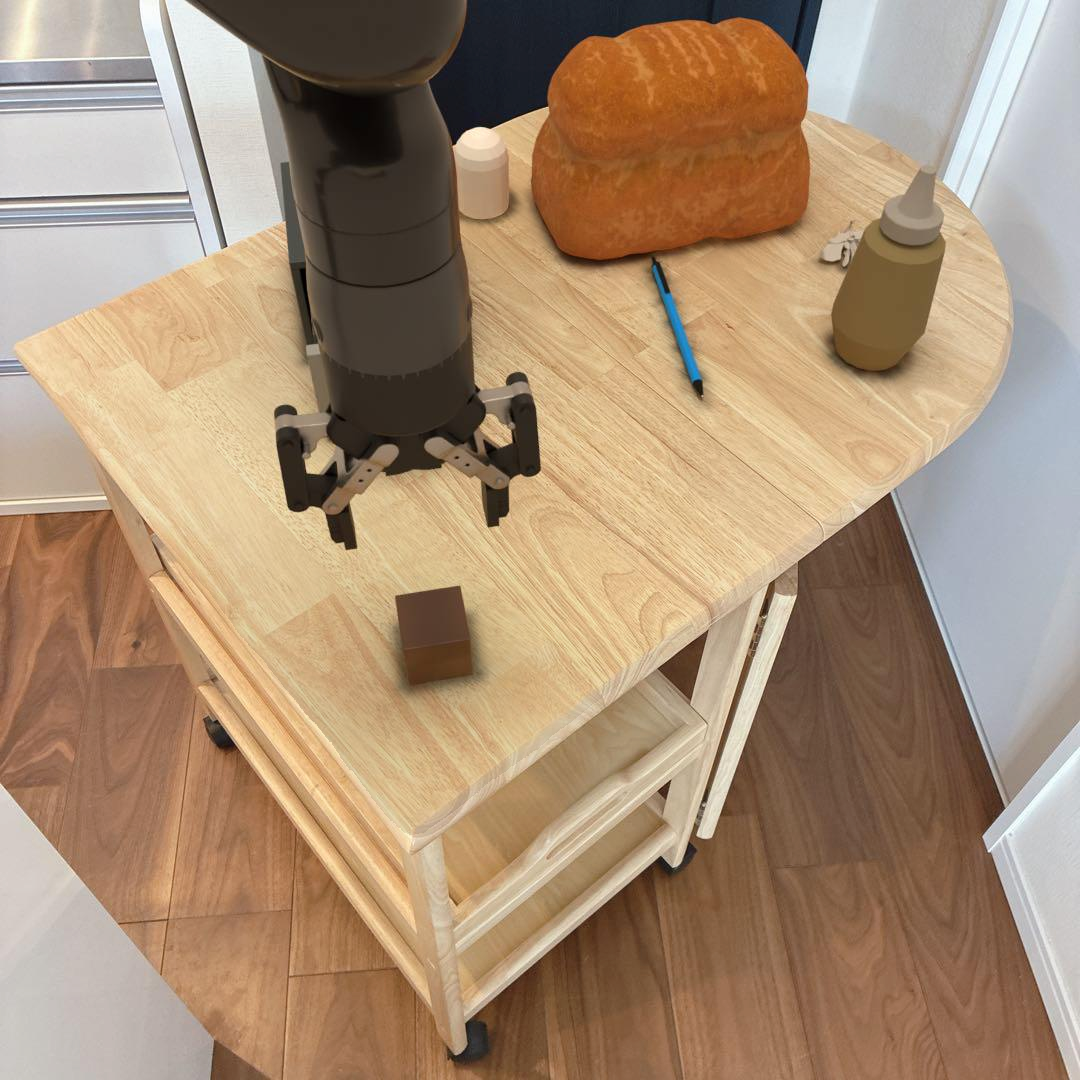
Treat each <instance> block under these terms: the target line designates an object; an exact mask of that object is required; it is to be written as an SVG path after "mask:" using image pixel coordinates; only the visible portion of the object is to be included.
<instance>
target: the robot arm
mask: <svg viewBox="0 0 1080 1080" xmlns="http://www.w3.org/2000/svg"><path fill="white" fill-rule="evenodd" d="M184 1H185V2H187V3H188V4H189V5H190V6H192V7H194V9H196V10H198V11H199V12H200V13H202V14H203V15H204V16H206V17H207V18H208V19H210V20H211V21H213V22H215V23H216V24H217V25H219V26H220V27H222V28H223V29H224V30H226V32H228V33H230V34H231V35H233V36H234V37H235V38H237V39H238V40H240V41H241V42H243V44H245V45H247V46H248V47H249V48H251V49H253V50H254V51H256V52H257V53H259V54H260V55H261V58H262V61H263V65H264V68H265V71H266V74H267V78H268V82H269V85H270V88H271V92H272V96H273V98H274V101H275V104H276V108H277V110H278V114H279V116H280V121H281V124H282V129H283V134H284V139H285V140H284V141H285V146H286V151H287V157H288V162H289V166H290V176H291V183H292V189H293V196H294V199H295V204H296V209H297V214H298V219H299V224H300V229H301V234H302V239H303V244H304V250H305V257H306V278H307V291H308V297H309V302H310V307H311V312H312V319H311V323H312V327H313V330H314V333H315V335H316V338H317V340H318V345H319V350H320V355H321V360H322V364H323V369H324V374H325V379H326V384H327V389H328V393H329V398H330V403H329V405H328V407H327V409H326V411H325V413H319V412H315V413H304V414H298V410H297V408H296V407H295V406H293V405H291V404H281V405H278V406H276V408H275V409H274V410H273V411H274V412H273V418H274V433H275V434H274V435H275V445H276V446H275V447H276V452H277V458H278V462H279V468H280V473H281V478H282V485H283V490H284V495H285V500H286V505H287V506H286V507H287V509H288V510H289V511H291V512H293V513H303V512H306V511H307V510H309V508H310V507H312V508H318V509H320V510H322V512H323V513H324V516H325V520H326V523H327V527H328V532H329V536H330V539H331V541H333V542H334V544H335V545H337V544H343V546H344V550H345V551H351V550H357V549H358V543H357V534H356V526H355V520H354V515H353V512H352V506H351V501H352V499H354V497H355V496H356V495H363V494H364V493H365V491H367V489H368V488H369V487H370V486H371V484H373V482H374V481H375V480H376V479H377V477H378V476H379V475H380V473H385V477H391V476H396V475H397V476H398V475H402V474H405V473H408V472H411V471H413V470H414V471H415V470H416V471H417V470H420V471H431V470H438V469H442V468H443V465H444V464H445V463H447V464H448V465H450V466H452V467H453V468H455V469H456V470H457V471H459V472H461V473H462V474H463V475H465V476H466V477H467V478H470V479H473V478H474V477H476V478H477V479H479V480H480V489H481V503H482V509H483V513H484V518H485V522H486V527H487V528H496V527H500V518H506V517H507V516H508V514H509V513H510V487H509V486H510V483H511V481H512V479H514V478H515V477H517V476H519V475H521V476H523V477H525V478H532V477H535V476H537V475H538V474H539V473H540V472H541V469H542V466H541V465H542V463H541V453H540V441H539V440H540V439H539V438H540V437H539V427H538V414H537V413H538V412H537V406H536V403H535V399H534V396H533V393H532V390H531V386H530V385H531V384H530V383H529V382H530V381H529V379H528V376H527V374H526V373H525V372H522V371H515V372H512V373H510V374H508V376H507V377H506V379H505V385H504V386H498V387H493V388H488V389H487V388H486V389H482V390H481V388H480V387H479V386H477V384H476V380H475V363H474V346H473V328H472V319H473V313H474V312H473V311H474V310H473V309H474V305H473V300H472V296H471V293H470V281H469V273H468V272H469V271H468V266H467V265H468V264H467V261H466V260H467V259H466V256H465V252H464V248H463V244H462V236H461V224H460V222H461V221H460V211H459V203H458V187H457V173H456V163H455V157H454V152H455V150H454V146H453V142H452V139H451V135H450V131H449V128H448V126H447V124H446V121H445V119H444V117H443V114H442V113H441V110H440V108H439V105H438V103H437V101H436V99H435V96H434V94H433V91H432V88H431V84H430V79H432V78H433V77H434V76H435V75H437V74H438V73H439V72H440V71H441V69H442V68H443V67H444V66H445V65H446V64H447V62H448V61H449V60H450V58H451V57H452V55H453V53H454V52H455V50H456V48H457V46H458V44H459V41H460V39H461V37H462V33H463V30H464V27H465V22H466V18H467V10H468V0H184ZM487 415H493V416H495V417H496V418H497V420H498V422H499V423H500V424H501V425H505V426H506V428H507V429H508V430H510V434H511V443H508V444H506V445H502V446H501V445H499V444H498V443H496V441H494V440H493V439H491V438H490V437H489V436H487V435H486V434H485V433H483V431H482V430H481V428H480V426H481V425H482V424H483V423H484V422H485V419H486V416H487ZM323 438H328V440H329V441H330V442H331V443H332V444H333V445H335V449H334V453H333V455H332V457H331V458H330V459H329V461H328V462H327V463H326V464H325V465H324V467H323V468H322V469H321V471H320V472H319V473H310V472H307V467H306V460H309V459H310V458H311V457H312V453H314V452H315V451H316V449H317V445H318V442H319V441H320V440H321V439H323Z"/></svg>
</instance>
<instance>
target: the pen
mask: <svg viewBox="0 0 1080 1080" xmlns="http://www.w3.org/2000/svg"><path fill="white" fill-rule="evenodd" d="M651 262H652V265H651V270H652V273H653V276H654V279H655V281H656V284H657V287H658V290H659V293H660V295H661V298H662V301H663V304H664V307H665V310H666V313H667V316H668V318H669V321H670V324H671V327H672V331H673V333H674V336H675V338H676V342H677V344H678V347H679V350H680V353H681V356H682V359H683V361H684V365H685V367H686V370H687V372H688V376H689V378H690V381H691V384H692V387H693V388H694V390H695V391H696V392H697V393H698V395H699V396H700V397H701V398H704V385H703V384H704V383H703V379H702V376H701V374H700V371H699V367H698V365H697V361H696V359H695V357H694V354H693V351H692V348H691V345H690V343H689V339H688V337H687V333H686V331H685V329H684V326H683V323H682V320H681V317H680V315H679V312H678V309H677V306H676V304H675V301H674V298H673V295H672V292H671V290H670V287H669V283H668V281H667V278H666V275H665V273H664V270H663V267H662V264H661V262H660V261H658V260H657V259H656V256H651Z"/></svg>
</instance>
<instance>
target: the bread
mask: <svg viewBox="0 0 1080 1080" xmlns="http://www.w3.org/2000/svg"><path fill="white" fill-rule="evenodd" d="M809 87H810V85H809V82H808V78H807V74H806V71H805V68H804V66H803V64H802V62H801V60H800V58H799V57H798V55H797V54H796V53H795V51H794V50H793V49H792V48H791V47H790V46H789V45H788V43H787V42H786V41H785V39H783V37H781V36H780V35H779V34H778V33H777V32H776V31H774V30H773V29H772V28H771V27H770V26H769V25H766V24H765V23H763V22H762V21H759V20H755V19H750V18H746V17H745V18H744V17H739V16H738V17H734V18H729V19H725V20H722V21H719V22H718V23H715V24H713V23H710V22H708V21H704V20H695V19H683V20H676V21H675V20H674V21H666V22H660V23H653V24H644V25H640V26H638V27H634V28H632V29H629V30H627V31H625V32H623V33H621V34H620V35H619V34H618V36H615V37H609V36H608V37H607V36H600V35H599V36H598V35H593V36H588V37H586V38H585V39H583V40H581V41H580V42H579V43H577V44H576V45H575V46H574V47H573V48H572V49H571V50H570V51H569V52H568V54H567V55H566V56H565V57H564V58H563V60H562V62H561V63H560V64H559V65H558V66H557V68H556V70H555V71H554V73H553V74H552V75H551V80H550V82H549V85H548V88H547V89H548V90H547V105H548V112H549V113H548V115H547V117H546V118H545V120H544V122H543V123H542V125H541V127H540V128H539V131H538V134H537V136H536V138H535V140H534V145H533V149H532V154H531V177H530V185H531V187H530V188H531V192H532V197H533V201H534V203H535V205H536V207H537V209H538V211H539V213H540V216H541V217H542V220H543V221H544V223H545V226H546V227H547V229H548V231H549V232H550V235H551V236H552V238H553V240H554V242H555V244H556V247H557V248H558V249H559V250H561V251H562V252H564V253H565V254H568V255H570V256H573V257H577V258H584V259H591V260H598V261H601V260H610V259H618V258H622V257H626V256H628V255H633V254H647V253H651V252H652V253H653V252H655V251H663V250H671V249H676V248H680V247H684V246H688V245H691V244H694V243H697V242H700V241H702V240H704V239H707V238H709V237H710V238H719V239H721V238H722V239H740V238H745V237H748V236H753V235H756V234H757V235H758V234H760V233H766V232H769V231H774V230H778V229H782V228H786V227H788V226H790V225H793V224H794V223H795V222H797V221H798V220H799V219H800V218H802V216H803V215H804V213H805V212H806V211H807V207H808V204H809V197H810V195H809V194H810V177H811V160H810V153H809V147H808V142H807V140H806V139H807V138H806V137H805V134H804V132H803V128H802V122H804V120H805V117H806V115H807V111H808V105H809V104H808V102H809Z"/></svg>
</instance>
